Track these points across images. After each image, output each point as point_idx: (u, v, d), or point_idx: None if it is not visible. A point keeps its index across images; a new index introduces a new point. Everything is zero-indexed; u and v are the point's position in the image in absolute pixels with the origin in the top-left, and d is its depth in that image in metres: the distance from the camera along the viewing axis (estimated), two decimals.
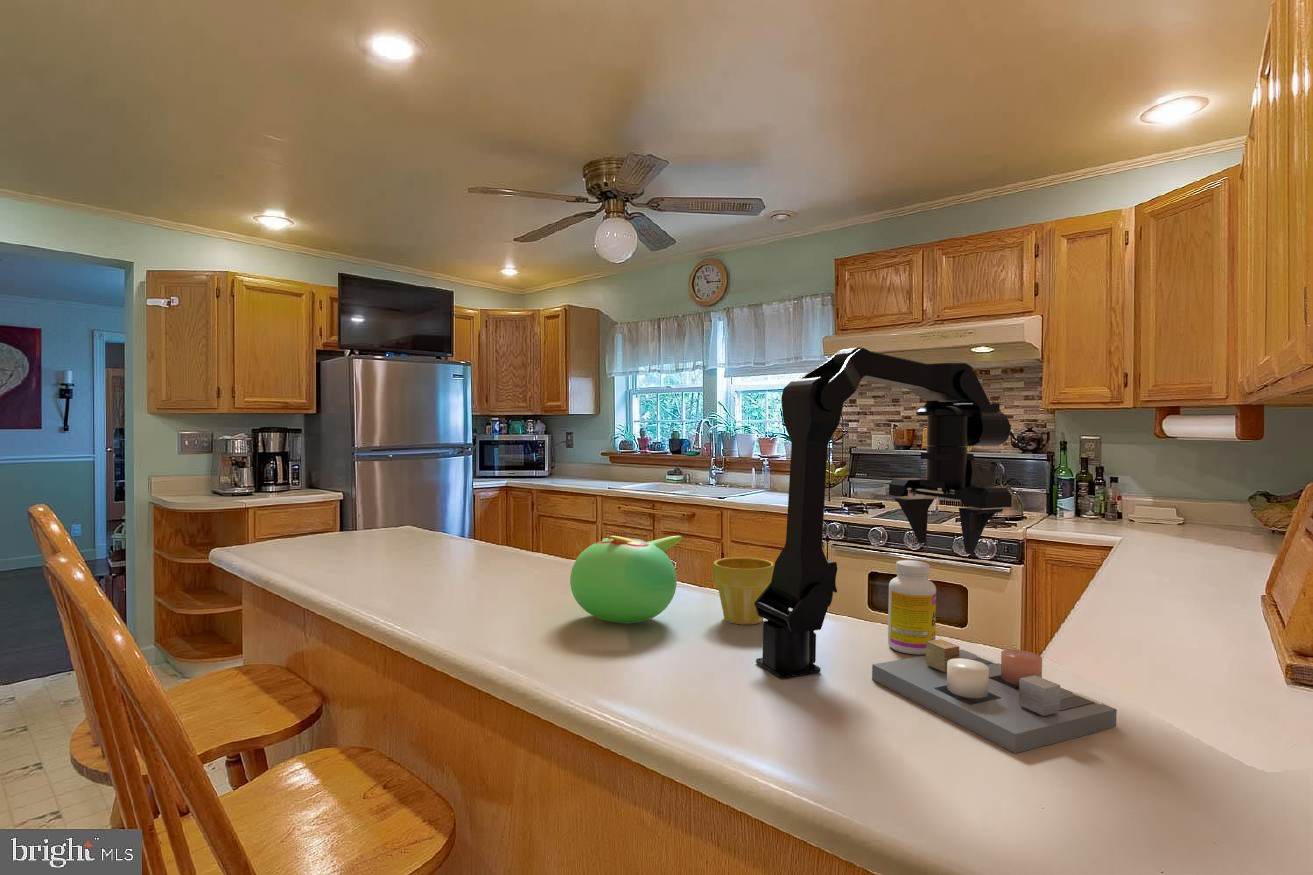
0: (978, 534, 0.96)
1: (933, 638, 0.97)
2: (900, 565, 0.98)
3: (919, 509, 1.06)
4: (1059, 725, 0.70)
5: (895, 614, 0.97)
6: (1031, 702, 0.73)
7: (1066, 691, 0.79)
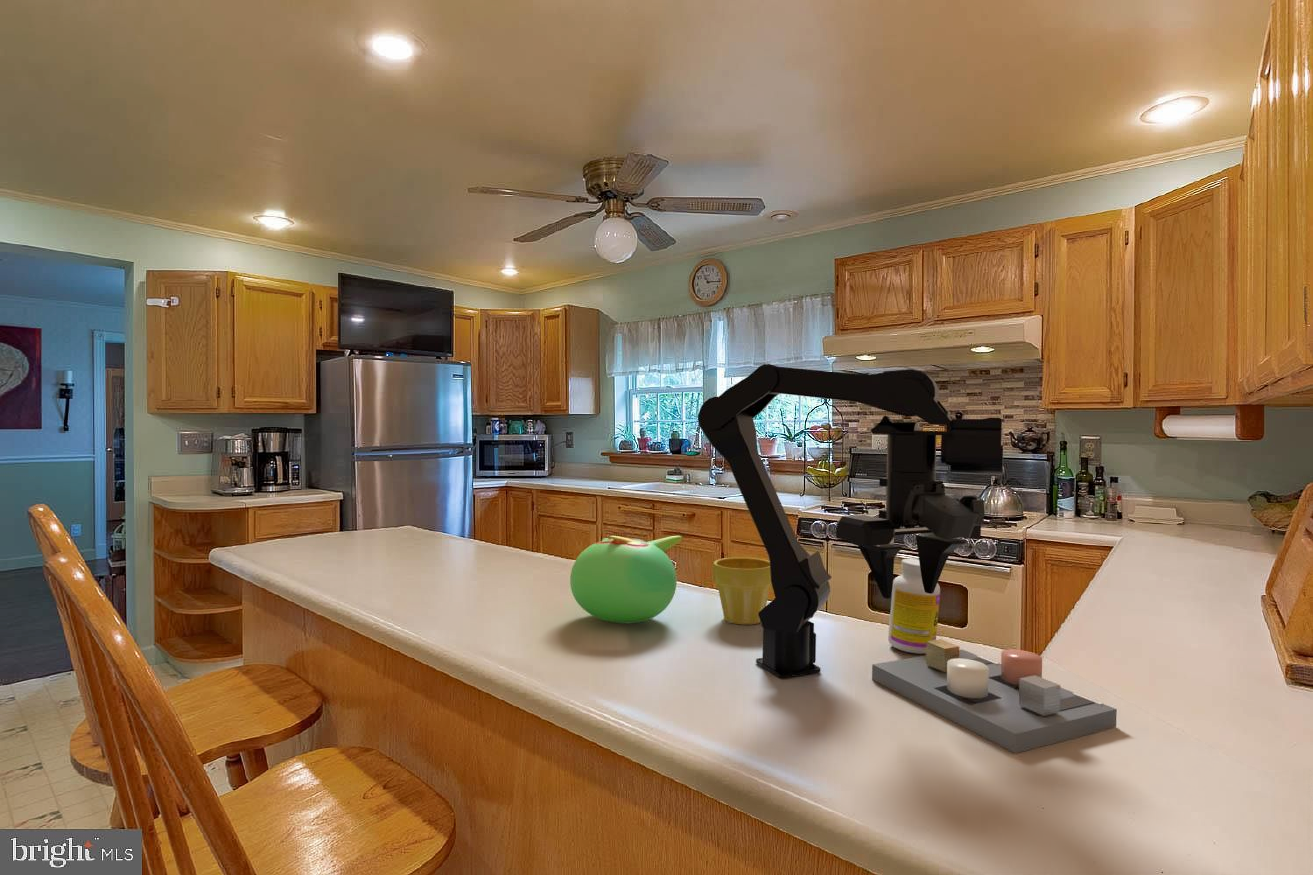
0: (883, 575, 0.81)
1: (934, 638, 0.97)
2: (906, 564, 0.98)
3: (929, 550, 0.85)
4: (1059, 725, 0.70)
5: (898, 612, 0.97)
6: (1031, 702, 0.73)
7: (1066, 691, 0.79)
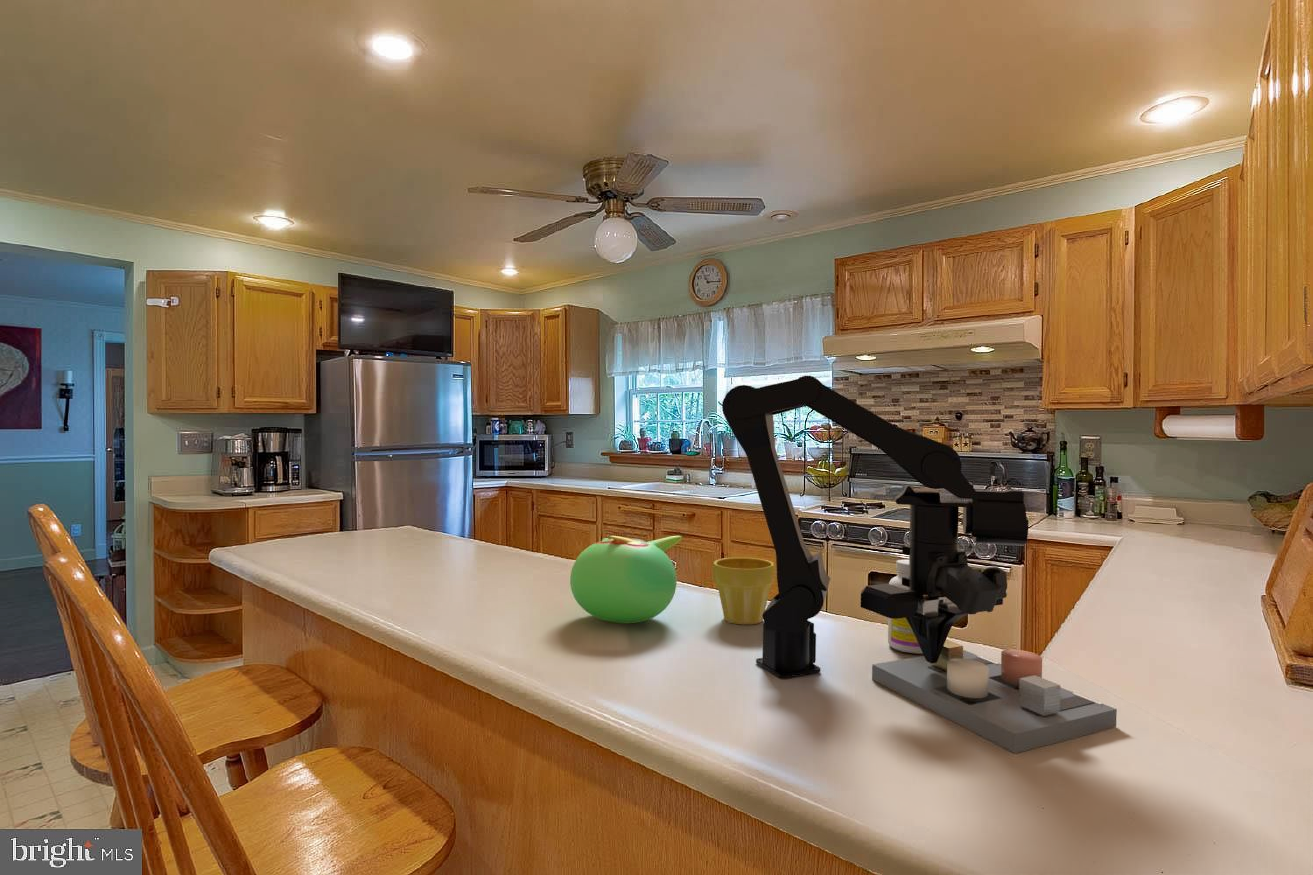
0: (927, 641, 0.84)
1: None
2: (901, 564, 0.98)
3: None
4: (1059, 725, 0.70)
5: None
6: (1031, 702, 0.73)
7: (1066, 691, 0.79)
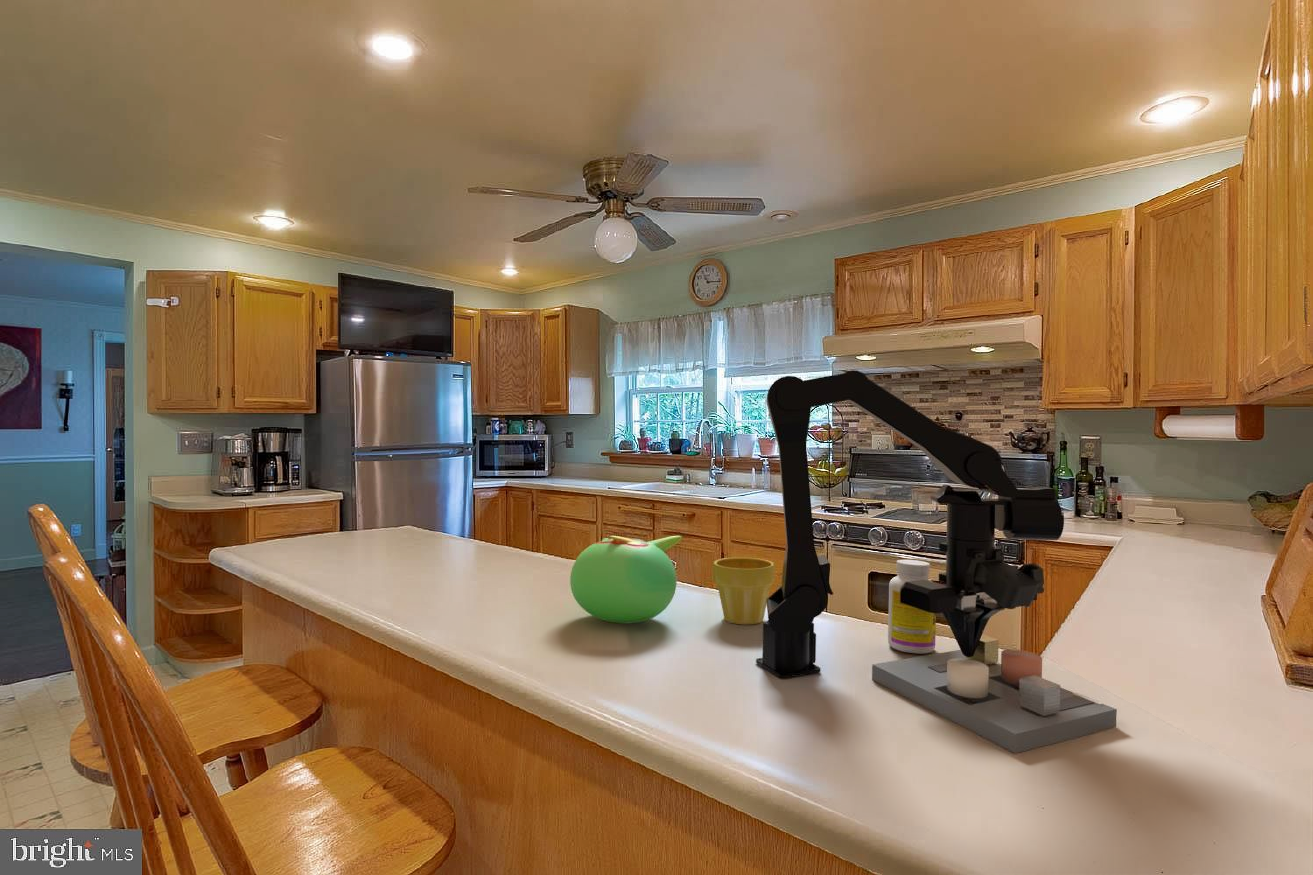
0: (964, 635, 0.86)
1: (934, 637, 0.97)
2: (901, 564, 0.98)
3: None
4: (1059, 725, 0.70)
5: (897, 613, 0.97)
6: (1031, 702, 0.73)
7: (1066, 691, 0.79)
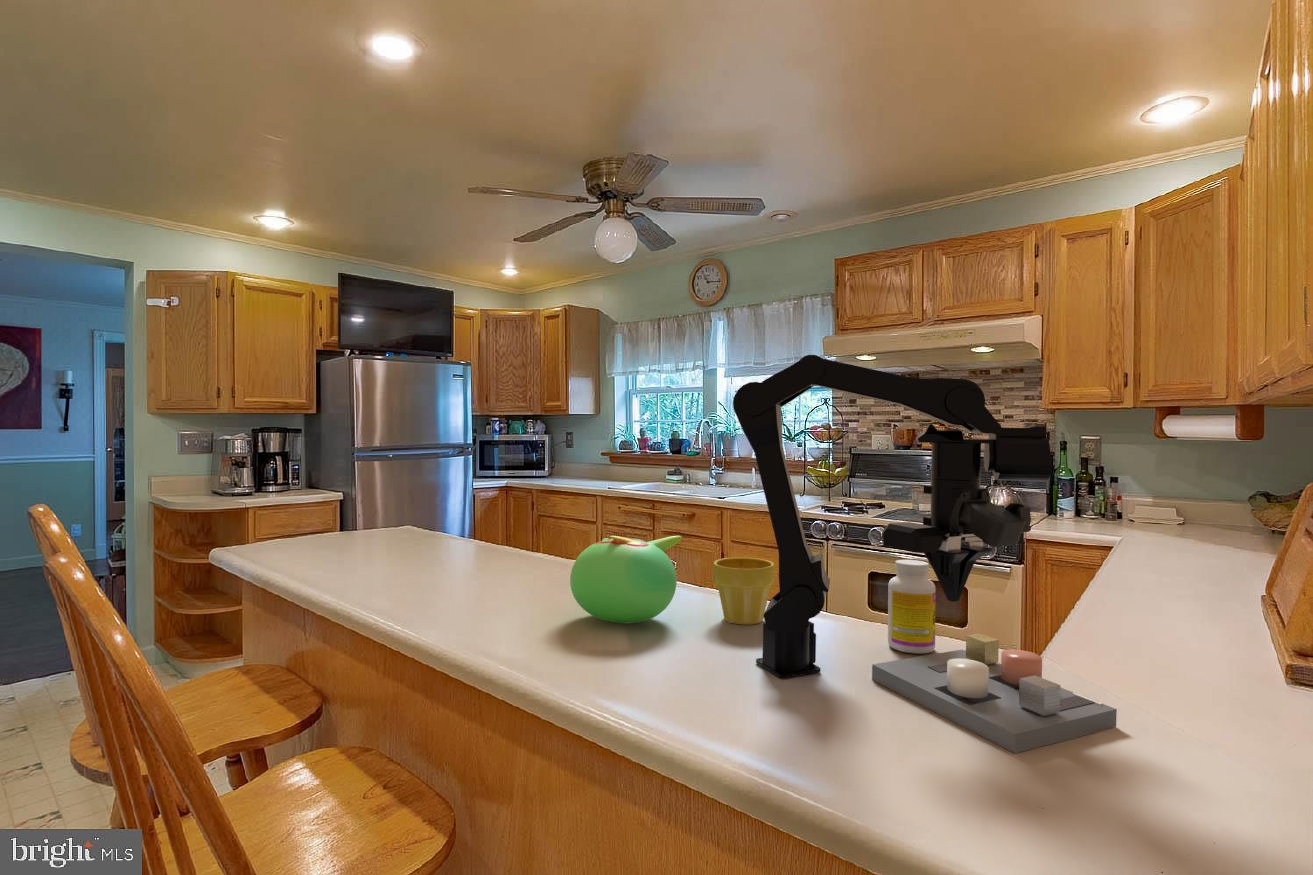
0: (949, 579, 0.83)
1: (934, 636, 0.97)
2: (900, 564, 0.98)
3: None
4: (1059, 725, 0.70)
5: (897, 613, 0.97)
6: (1031, 702, 0.73)
7: (1066, 691, 0.79)
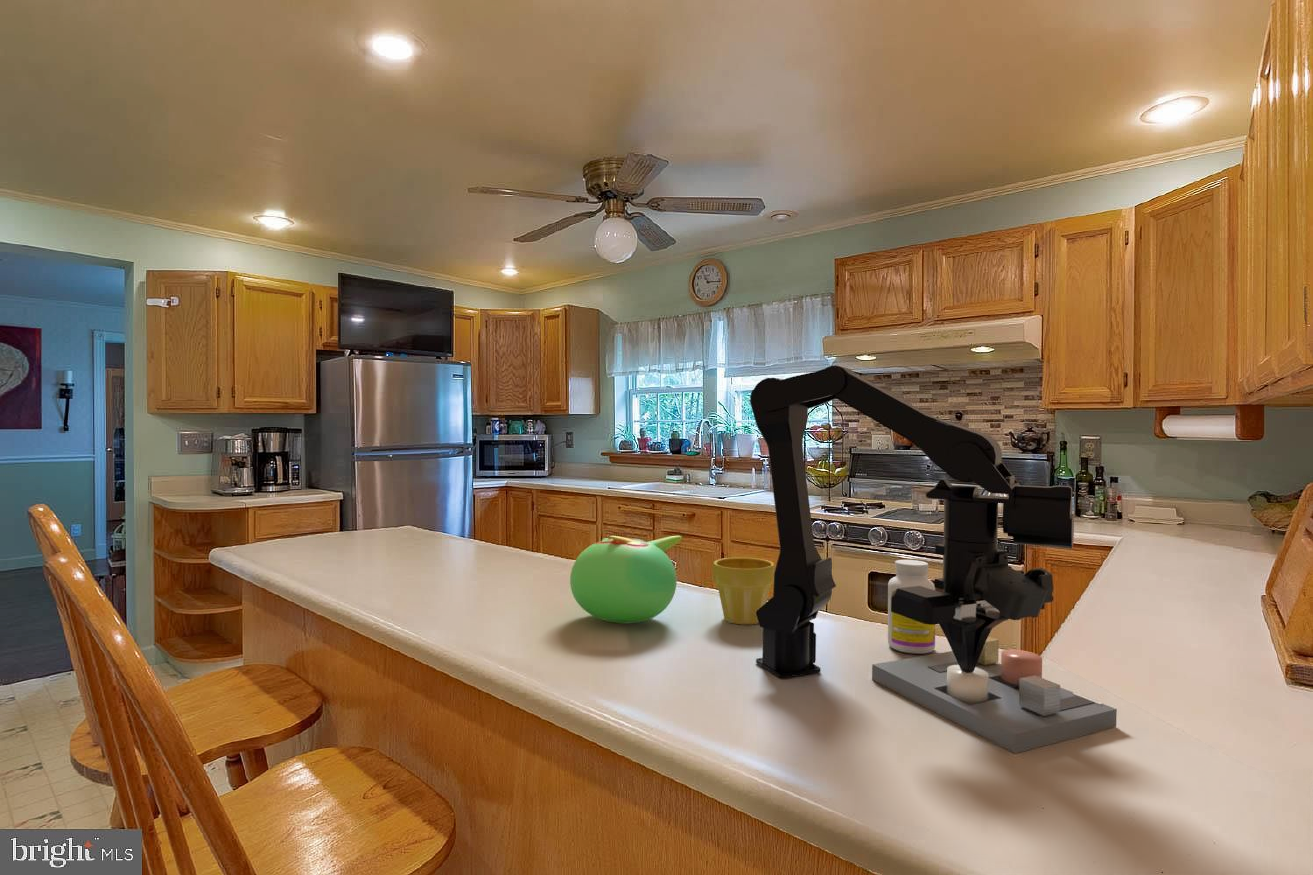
0: (962, 648, 0.77)
1: (934, 636, 0.97)
2: (900, 564, 0.98)
3: None
4: (1059, 725, 0.70)
5: None
6: (1031, 702, 0.73)
7: (1066, 691, 0.79)
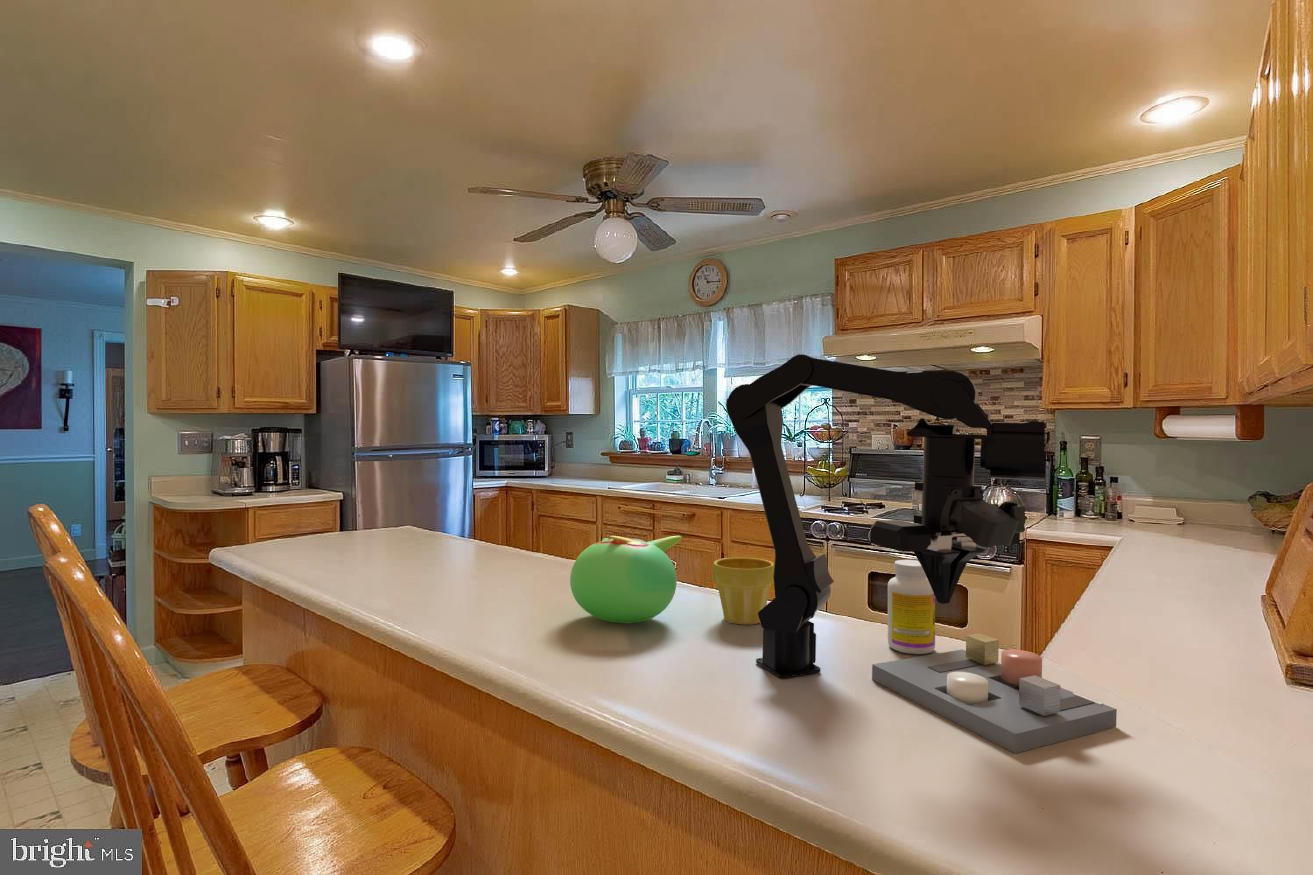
0: (939, 580, 0.80)
1: (934, 636, 0.97)
2: (900, 565, 0.98)
3: None
4: (1059, 725, 0.70)
5: (897, 615, 0.97)
6: (1031, 702, 0.73)
7: (1066, 691, 0.79)
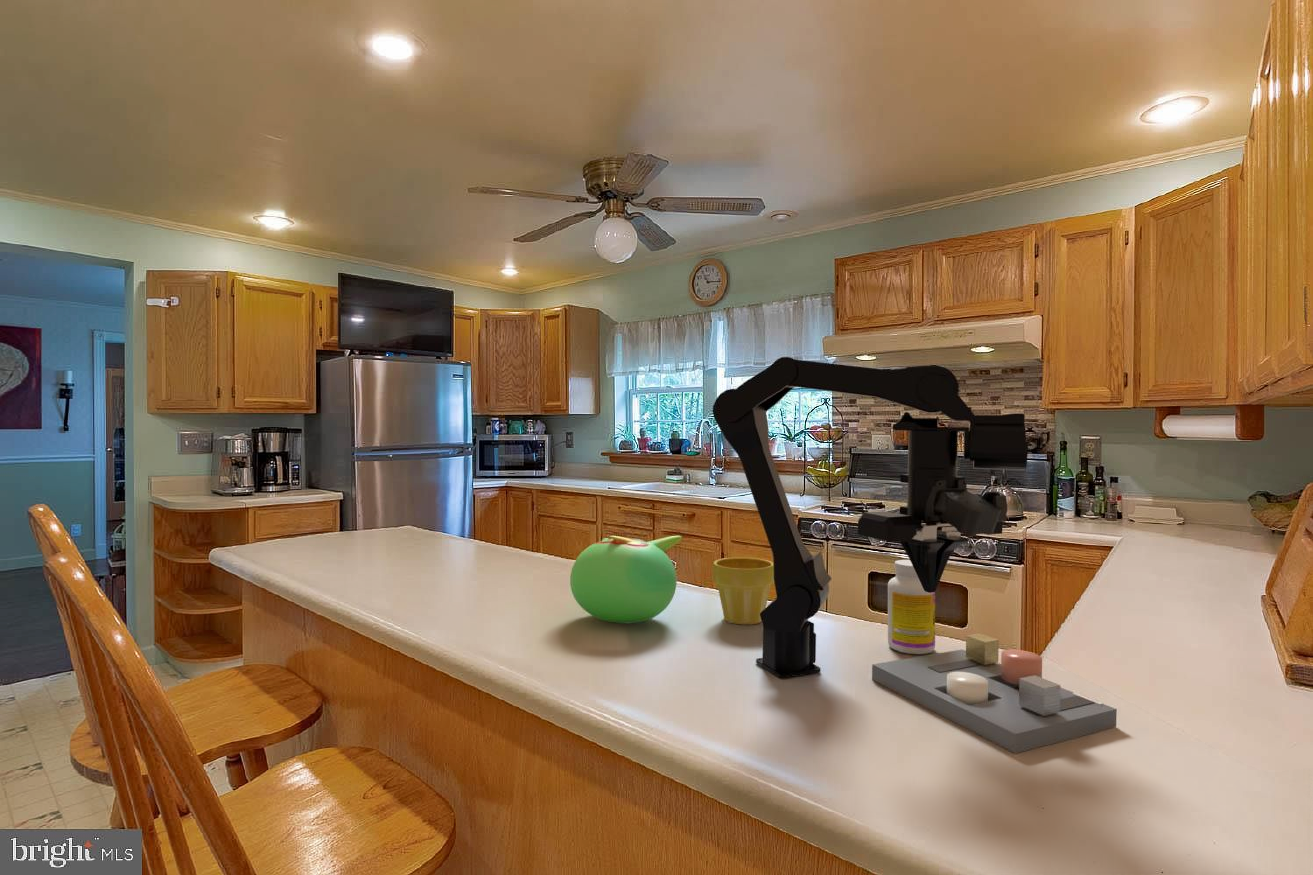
0: (925, 569, 0.82)
1: (934, 636, 0.97)
2: (900, 565, 0.98)
3: None
4: (1059, 725, 0.70)
5: (898, 615, 0.97)
6: (1031, 702, 0.73)
7: (1066, 691, 0.79)
